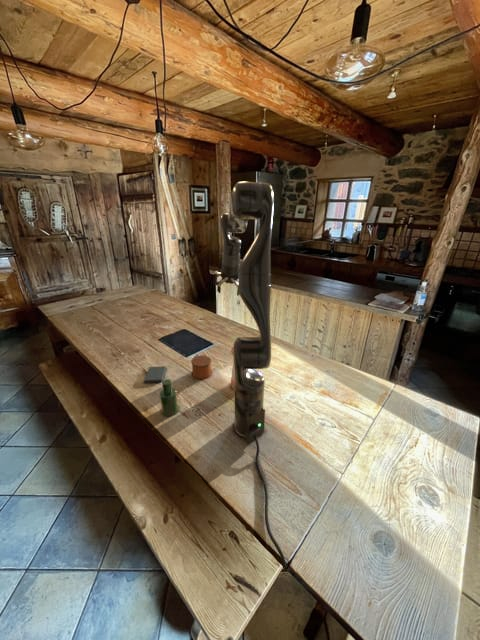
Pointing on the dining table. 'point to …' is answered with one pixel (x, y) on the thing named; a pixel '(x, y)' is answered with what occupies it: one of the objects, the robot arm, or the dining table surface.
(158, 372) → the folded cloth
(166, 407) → the green bottle
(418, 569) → the dining table surface
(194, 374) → the copper tin
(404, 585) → the dining table surface
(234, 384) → the pepper shaker
